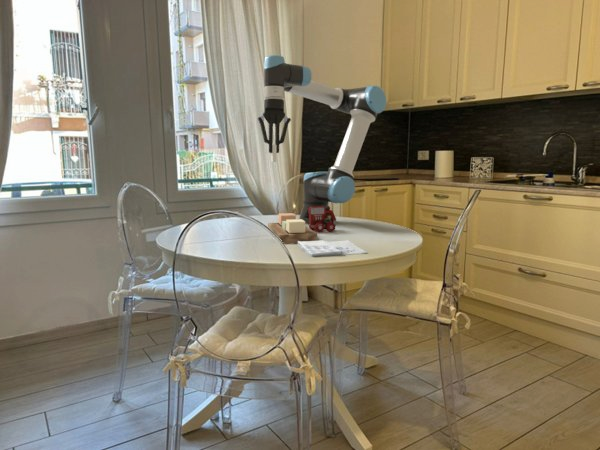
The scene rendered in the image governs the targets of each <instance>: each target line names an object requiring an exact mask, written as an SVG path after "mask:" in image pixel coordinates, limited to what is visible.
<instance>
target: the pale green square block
mask: <svg viewBox="0 0 600 450" xmlns="http://www.w3.org/2000/svg"><path fill="white" fill-rule="evenodd" d="M282 229H284V230H286V221H282Z"/></svg>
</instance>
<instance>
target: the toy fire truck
mask: <svg viewBox="0 0 600 450" xmlns="http://www.w3.org/2000/svg"><path fill="white" fill-rule="evenodd" d="M308 213H309V224H308V228H310V229H311V230H313V231H314V232H315V233H317V234H318V233H323V231H327V232H329V233H332V232H334V231H335V230H336V226H337V217H336V215H335V213H334V211H333V210H332V209H331V207H330V206H329V205H328V206H326V207H309V209H308ZM330 219H331V220H330Z"/></svg>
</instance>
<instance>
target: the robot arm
mask: <svg viewBox="0 0 600 450" xmlns="http://www.w3.org/2000/svg"><path fill="white" fill-rule="evenodd" d="M263 70H264V71H263V72H264V73H263V75H264V77H263V78H264V82H263V85H264V91H263V98H264V101H263V102H264V103H263V104H264V105H263V106H264V107H263V113H262V115H261V116H259V117H257V118H256V119H257V122H258V123H259V125H260V130H261V133H262V138H263V142H264V143H265V144H268V153H269V154H270V155H271V157H270V158H271V160H270V161H271V163H274V162H275V163H276V162H277V154H279V152H280V144H283V143H284V142H285V140H286V139H285V138H286V135H287V132H288V131H287V130H288V128H289V124H290V122H291V121H292V120H291V117H288V116H287V115H286V113H285V100H284V98H285V92H287V93H291V94H293V95H296V96H299V97H302V98H305V99H309V100H312V101H315V102H318V103H321V104H325V105H327V106H329V107H330V108H331V109H332V110H335V111H338V112H342V113H345V114H347V115H348V114H349V115H350V116H351V118H350V121H349V124H348V126H347V128H346V132H345V135H344V137H343V140H342V142H341V145H340V148H339V151H338V153H337V156H336V159H335V162H334V164H333V165H332V166H331V167H328V170H327V171H316V172H315V171H314V172H306V173H304V175H303V181H302V182H303V191H302V192H303V198H302V199H303V201H302V202H303V206H302V208H301V211H300V215H299V219H302V220H304V221H305V225H309V213H308V209H309V207H326V206H329V203H333V204H345V203H347V202H349V201H350V200H351V199H352V198H353V196H354V195H355V191H356V186H355V181H354V179H355V176H354V174H353V172H354V168H355V166H356V163H357V160H358V157H359V154H360V152H361V150H362V146H363V145H364V144H363V143H364V141H365V140H366V139H365V138H366V136H367V134H368V130H369V128H370V125H371V123H374V122H375V121H376V119H377V115H378V114H381V113H382V112H384V111H385V109H386V106H387V96H386V93H385V91H384V90H383V88H381V87H380V86H378V85H366V86H363V87H362V86H361V87H356V88H354V87H353V88H347V89H346V88H342V87H335V88H334V87H332V86H328V85H325V84H322V83H319V82H316V81H314V80H312V71H311V68H309V67H308V66H305V65H299V64H291V63H286V62H285V57H284V56H281V55H278V54H277V55H276V54H271V55H267V56H266V57H265V58H264V63H263ZM265 120H266V122H267V124H268V134H267V130H266V125H265V123H264V121H265ZM282 121H283V122H284V123H283V126H282V131H281V134H280V126H281V125H280V124H281V122H282ZM274 129H275V130H274ZM273 133H274V134H275V135H273ZM280 135H281V136H280ZM273 136H274V137H273ZM274 139H275V140H274ZM274 141H275V142H274ZM273 142H274V144H273ZM330 220H331V219H330Z"/></svg>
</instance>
